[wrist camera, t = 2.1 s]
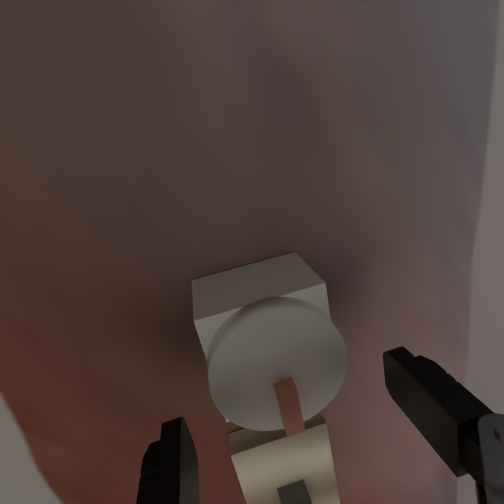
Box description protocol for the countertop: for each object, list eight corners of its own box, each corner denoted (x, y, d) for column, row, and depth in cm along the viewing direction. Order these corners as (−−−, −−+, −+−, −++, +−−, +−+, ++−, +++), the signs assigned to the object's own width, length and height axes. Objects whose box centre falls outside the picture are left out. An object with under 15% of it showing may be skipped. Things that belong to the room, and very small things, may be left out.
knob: (189, 279, 16) (191, 347, 11) (296, 249, 17) (347, 300, 12) (216, 367, 19) (230, 461, 13) (311, 338, 19) (361, 416, 14)
